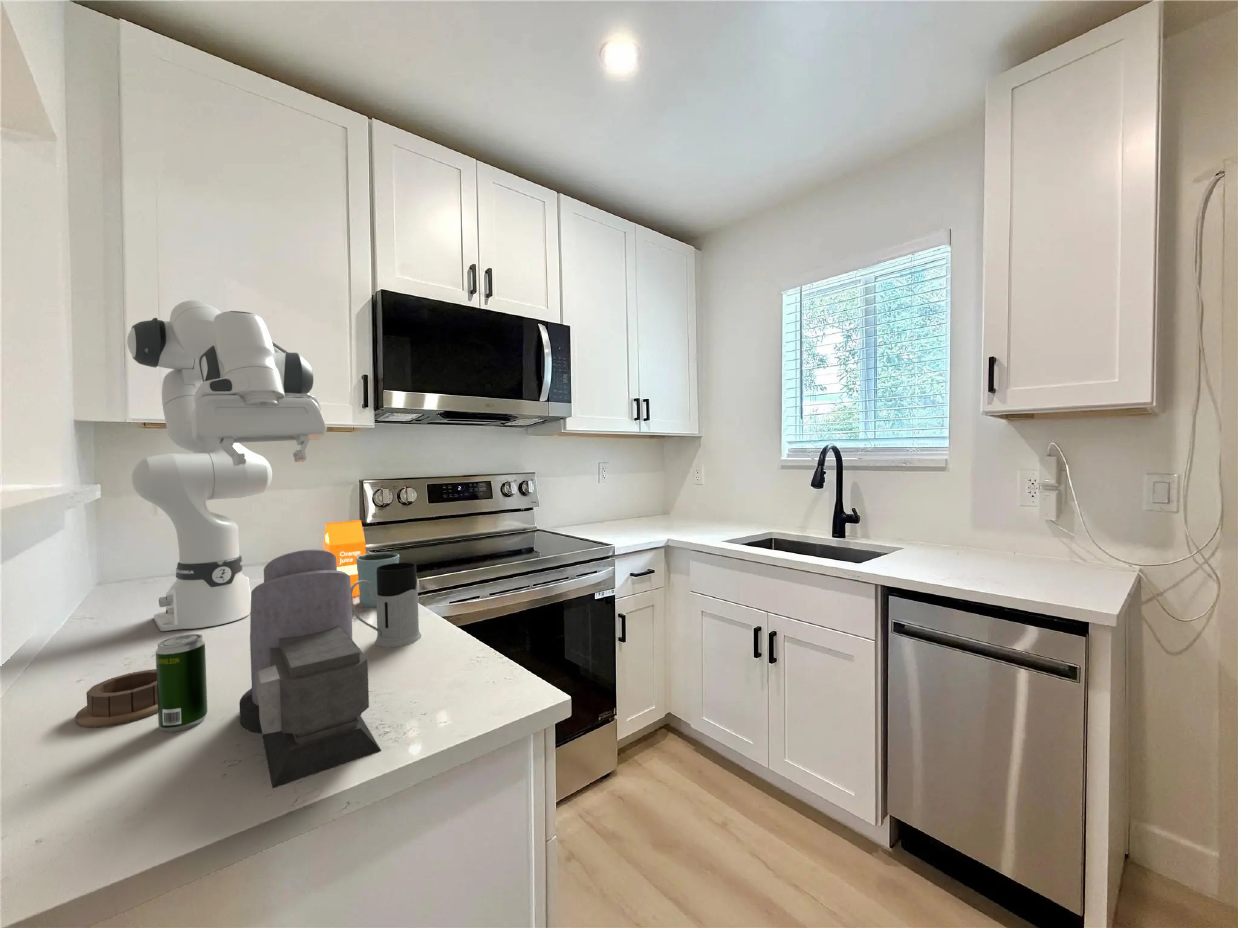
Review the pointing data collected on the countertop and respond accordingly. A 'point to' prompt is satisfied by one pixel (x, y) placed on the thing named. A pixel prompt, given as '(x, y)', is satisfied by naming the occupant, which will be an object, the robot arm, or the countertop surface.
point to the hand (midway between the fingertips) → (271, 462)
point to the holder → (395, 604)
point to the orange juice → (346, 547)
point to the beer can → (181, 682)
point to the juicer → (306, 669)
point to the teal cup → (371, 574)
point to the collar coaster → (120, 700)
